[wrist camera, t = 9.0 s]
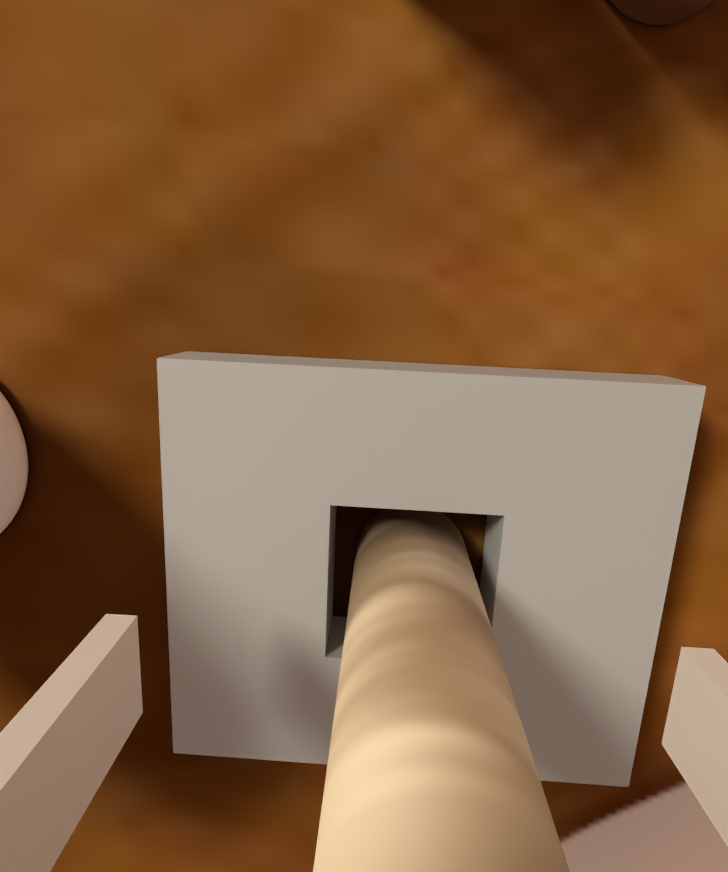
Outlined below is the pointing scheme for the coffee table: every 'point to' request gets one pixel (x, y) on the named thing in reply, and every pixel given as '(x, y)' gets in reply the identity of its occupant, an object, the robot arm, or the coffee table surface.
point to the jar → (11, 464)
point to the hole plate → (424, 491)
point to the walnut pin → (660, 10)
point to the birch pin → (427, 720)
